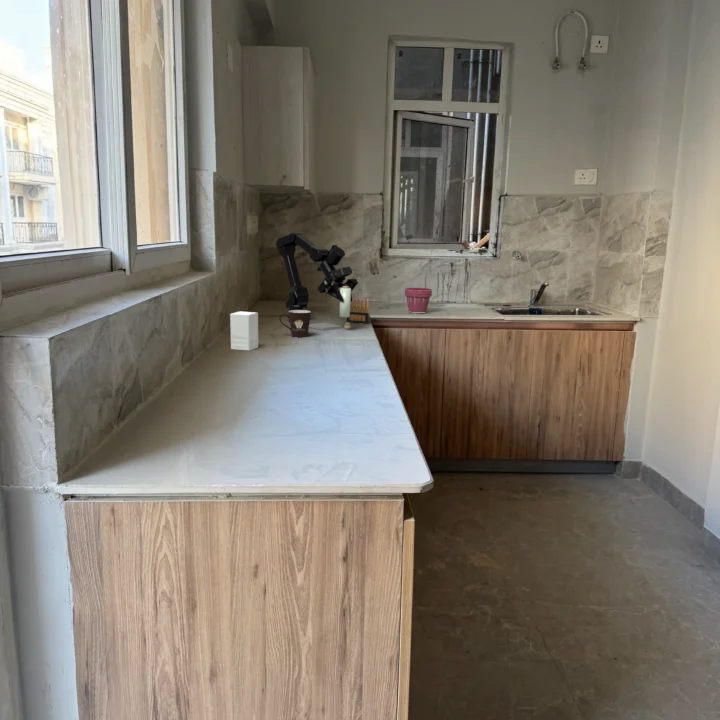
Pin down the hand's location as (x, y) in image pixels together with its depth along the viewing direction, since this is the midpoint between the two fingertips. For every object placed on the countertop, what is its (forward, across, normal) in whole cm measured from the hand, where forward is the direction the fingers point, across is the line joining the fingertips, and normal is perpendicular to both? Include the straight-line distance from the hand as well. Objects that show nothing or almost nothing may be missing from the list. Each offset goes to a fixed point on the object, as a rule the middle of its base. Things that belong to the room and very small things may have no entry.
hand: (347, 301), depth 257 cm
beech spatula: (+2, +11, +17) cm, 20 cm away
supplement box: (+14, -56, +4) cm, 58 cm away
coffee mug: (+7, -25, +11) cm, 28 cm away
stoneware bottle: (+4, 0, +6) cm, 7 cm away
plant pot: (-8, +74, +26) cm, 79 cm away
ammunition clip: (-1, +21, +20) cm, 29 cm away
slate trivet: (0, -1, +18) cm, 18 cm away
